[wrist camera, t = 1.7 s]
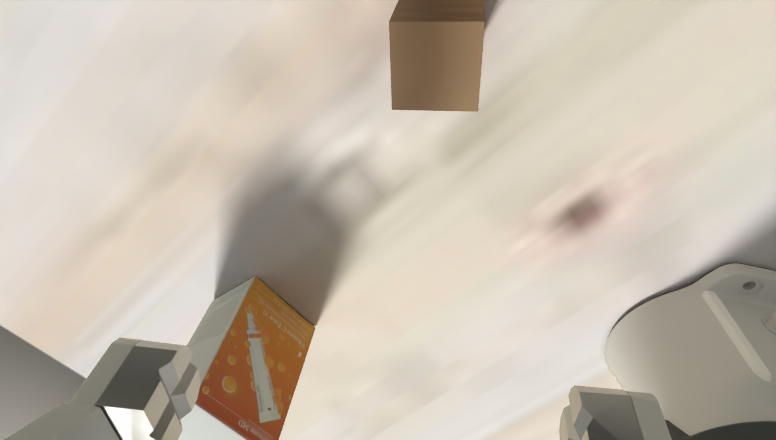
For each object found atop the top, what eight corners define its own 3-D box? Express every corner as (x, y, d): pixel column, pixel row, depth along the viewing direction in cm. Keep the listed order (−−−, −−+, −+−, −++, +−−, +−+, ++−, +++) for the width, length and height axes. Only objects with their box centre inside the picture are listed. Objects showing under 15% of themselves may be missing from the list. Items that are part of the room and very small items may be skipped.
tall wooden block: (480, -25, 28) (484, 21, 21) (475, 48, 30) (477, 111, 23) (409, -24, 28) (389, 21, 21) (409, 47, 31) (392, 109, 24)
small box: (317, 326, 48) (275, 460, 37) (272, 347, 51) (221, 477, 40) (255, 272, 44) (190, 402, 34) (211, 298, 47) (139, 425, 37)
